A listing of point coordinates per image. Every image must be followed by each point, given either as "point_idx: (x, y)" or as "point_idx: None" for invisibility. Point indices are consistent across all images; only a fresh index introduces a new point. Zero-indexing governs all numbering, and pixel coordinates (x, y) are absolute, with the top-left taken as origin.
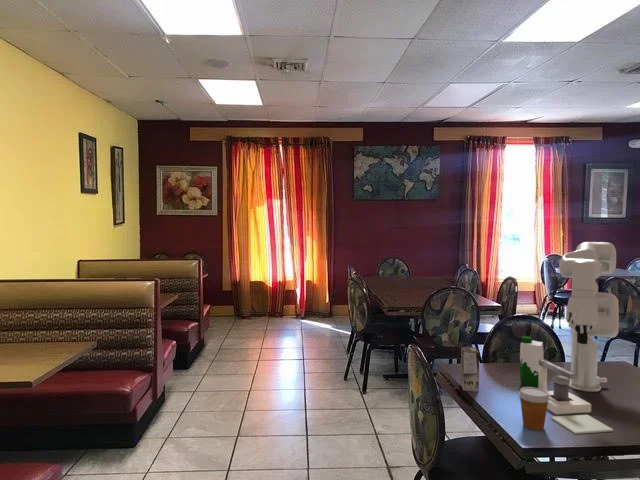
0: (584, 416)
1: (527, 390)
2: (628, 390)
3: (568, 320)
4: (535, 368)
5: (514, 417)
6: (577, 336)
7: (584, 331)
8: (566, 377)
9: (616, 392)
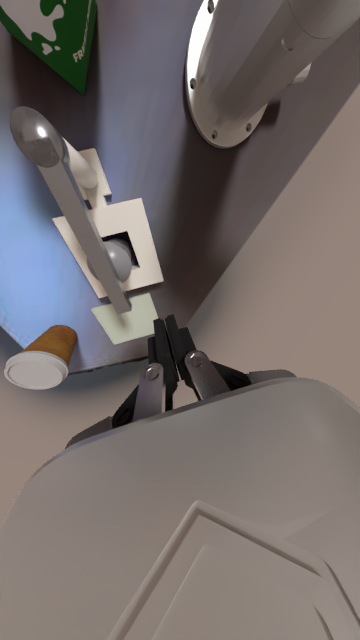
0: (142, 300)
1: (21, 369)
2: (313, 131)
3: (48, 482)
4: (30, 20)
5: (30, 312)
6: (148, 353)
7: (186, 383)
8: (125, 257)
9: (275, 150)
